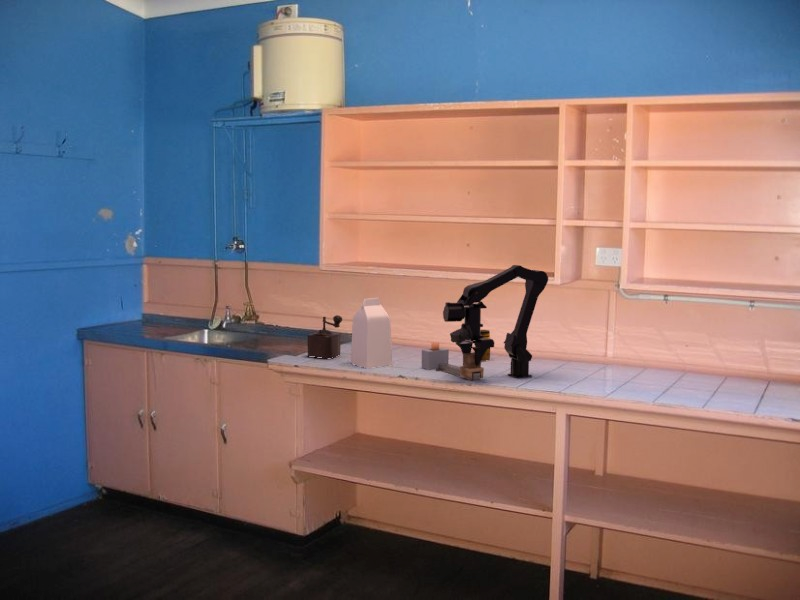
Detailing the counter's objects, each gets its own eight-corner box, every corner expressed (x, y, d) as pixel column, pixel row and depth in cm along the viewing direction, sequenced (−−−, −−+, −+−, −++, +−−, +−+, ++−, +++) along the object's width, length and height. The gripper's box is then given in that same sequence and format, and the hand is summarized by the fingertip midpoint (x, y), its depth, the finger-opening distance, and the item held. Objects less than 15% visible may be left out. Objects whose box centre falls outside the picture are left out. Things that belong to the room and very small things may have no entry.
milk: (366, 368, 305) (367, 300, 302) (350, 364, 314) (350, 298, 311) (392, 365, 312) (393, 298, 309) (375, 361, 321) (376, 296, 318)
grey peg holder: (448, 367, 307) (448, 349, 307) (428, 369, 303) (428, 351, 302) (441, 365, 312) (441, 347, 311) (421, 367, 307) (421, 349, 306)
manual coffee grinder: (305, 357, 327) (305, 314, 325) (319, 353, 337) (319, 311, 335) (339, 360, 321) (339, 316, 319) (352, 356, 331) (352, 313, 329)
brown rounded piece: (440, 351, 306) (440, 343, 306) (434, 351, 305) (434, 344, 304) (436, 350, 309) (436, 342, 308) (429, 350, 307) (429, 343, 307)
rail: (483, 379, 286) (483, 372, 286) (469, 381, 283) (469, 374, 283) (448, 369, 305) (448, 362, 305) (435, 370, 302) (435, 363, 302)
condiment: (494, 360, 325) (495, 330, 323) (478, 362, 320) (478, 332, 319) (483, 357, 331) (483, 328, 330) (466, 359, 326) (467, 330, 325)
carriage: (483, 377, 286) (483, 354, 285) (469, 379, 283) (470, 355, 282) (473, 374, 291) (473, 351, 290) (459, 376, 288) (460, 353, 287)
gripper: (439, 319, 289) (438, 362, 291) (469, 325, 273) (469, 370, 275) (464, 317, 295) (463, 359, 296) (495, 323, 279) (494, 367, 280)
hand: (471, 364), depth 287 cm, fingers open, 6 cm apart
